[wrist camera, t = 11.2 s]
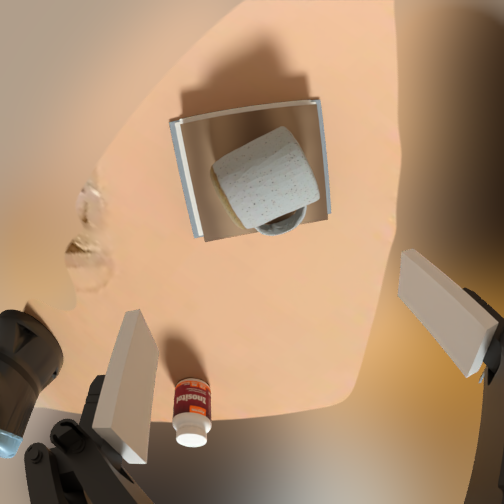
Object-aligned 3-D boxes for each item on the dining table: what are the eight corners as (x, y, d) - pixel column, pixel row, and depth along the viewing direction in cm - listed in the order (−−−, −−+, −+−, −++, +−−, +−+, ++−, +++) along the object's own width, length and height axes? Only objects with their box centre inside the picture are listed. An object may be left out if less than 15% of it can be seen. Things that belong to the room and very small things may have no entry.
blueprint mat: (194, 237, 36) (194, 239, 36) (169, 121, 30) (168, 121, 30) (330, 213, 37) (331, 214, 37) (319, 99, 31) (320, 98, 30)
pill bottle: (208, 376, 47) (210, 430, 37) (212, 397, 50) (214, 448, 40) (172, 377, 46) (167, 430, 36) (178, 398, 49) (175, 449, 39)
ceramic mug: (205, 160, 29) (202, 176, 22) (276, 122, 28) (296, 127, 22) (253, 243, 34) (264, 278, 27) (318, 209, 33) (344, 236, 26)
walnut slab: (205, 232, 36) (205, 242, 33) (183, 123, 30) (180, 124, 27) (319, 211, 36) (327, 219, 34) (308, 104, 31) (316, 104, 28)
